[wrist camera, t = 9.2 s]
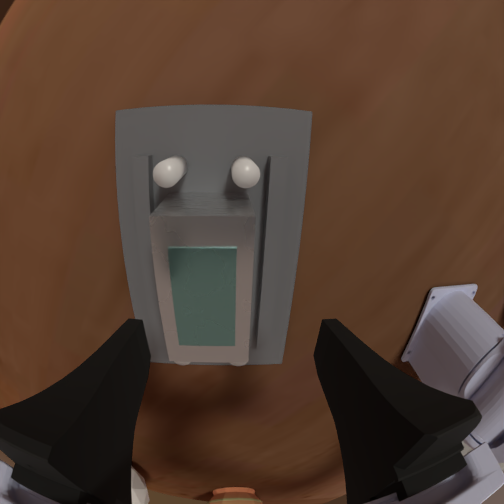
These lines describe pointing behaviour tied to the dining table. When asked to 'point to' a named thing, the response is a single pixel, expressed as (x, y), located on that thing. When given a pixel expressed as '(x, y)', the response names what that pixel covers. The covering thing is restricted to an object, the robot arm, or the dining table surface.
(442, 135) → the dining table surface
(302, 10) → the dining table surface
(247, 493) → the potted cactus
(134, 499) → the geodesic sphere
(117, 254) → the dining table surface
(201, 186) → the grooved peg plate
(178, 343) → the block
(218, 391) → the dining table surface
